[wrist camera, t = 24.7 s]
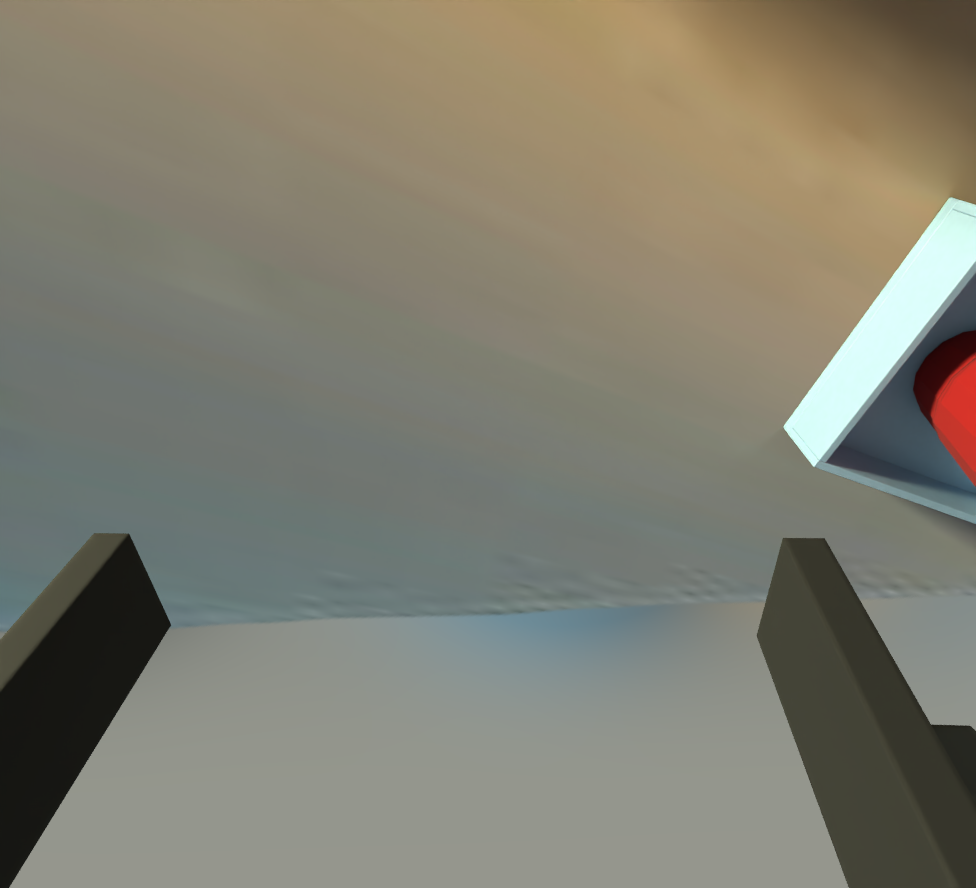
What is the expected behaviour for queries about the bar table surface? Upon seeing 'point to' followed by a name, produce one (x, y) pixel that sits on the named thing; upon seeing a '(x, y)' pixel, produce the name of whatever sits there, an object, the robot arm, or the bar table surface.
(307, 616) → the bar table surface
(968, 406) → the plastic cup
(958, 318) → the tray
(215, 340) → the bar table surface
